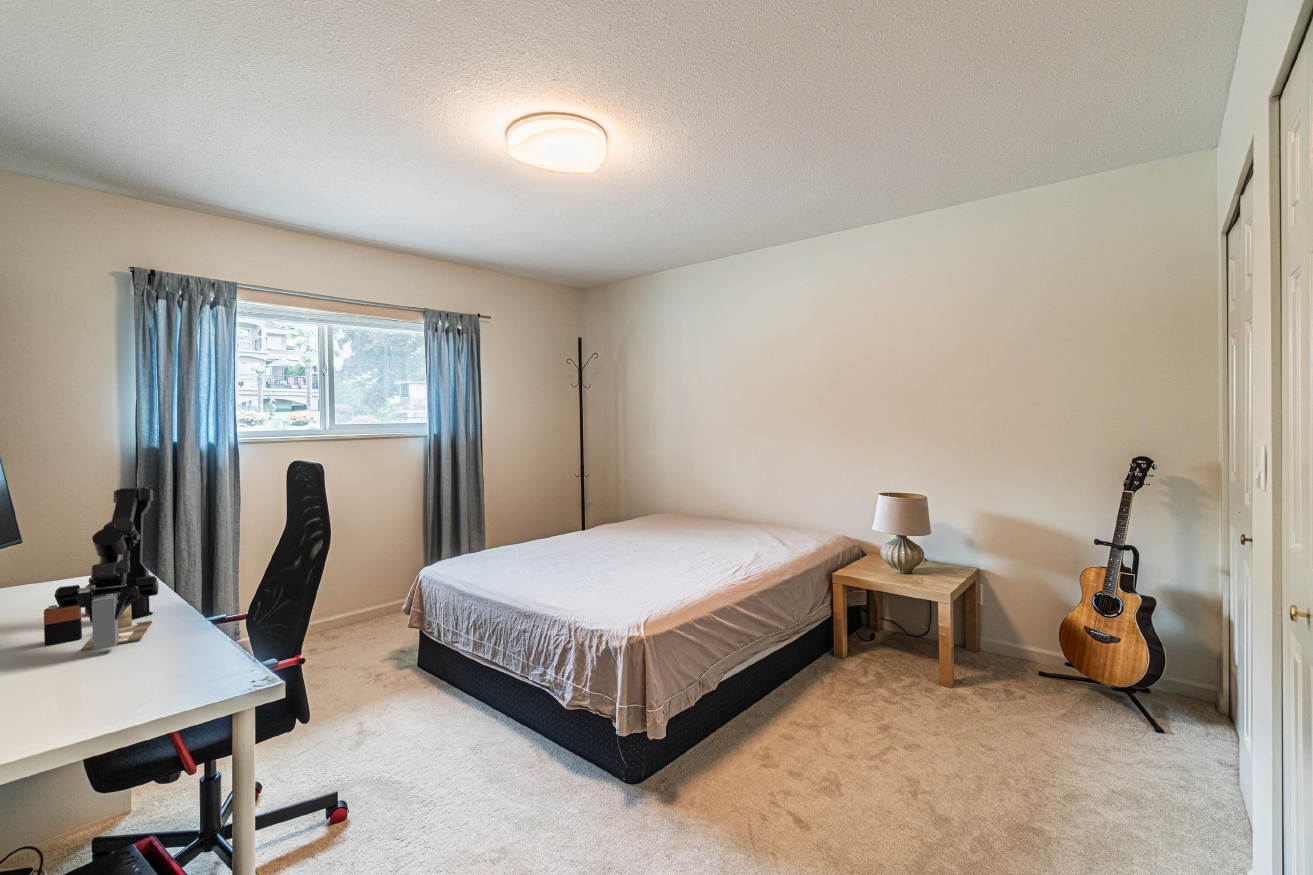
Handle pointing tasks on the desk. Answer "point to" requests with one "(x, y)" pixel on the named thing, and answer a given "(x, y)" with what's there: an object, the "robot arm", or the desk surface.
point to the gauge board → (126, 630)
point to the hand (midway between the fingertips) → (104, 620)
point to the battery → (62, 624)
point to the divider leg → (105, 621)
